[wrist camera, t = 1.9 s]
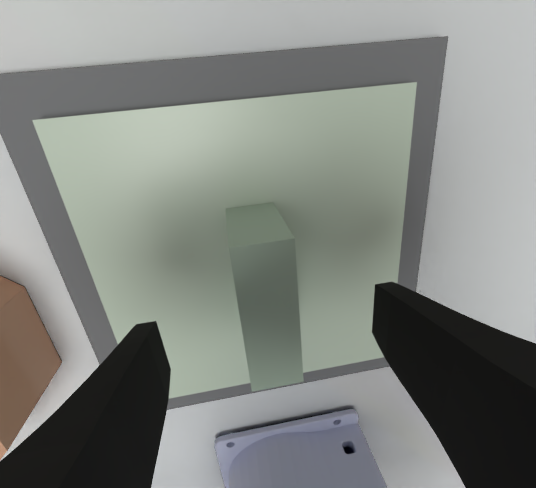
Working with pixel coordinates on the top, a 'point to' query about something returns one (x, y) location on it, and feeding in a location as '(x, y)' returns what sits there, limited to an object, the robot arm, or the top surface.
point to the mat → (205, 91)
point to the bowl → (21, 360)
